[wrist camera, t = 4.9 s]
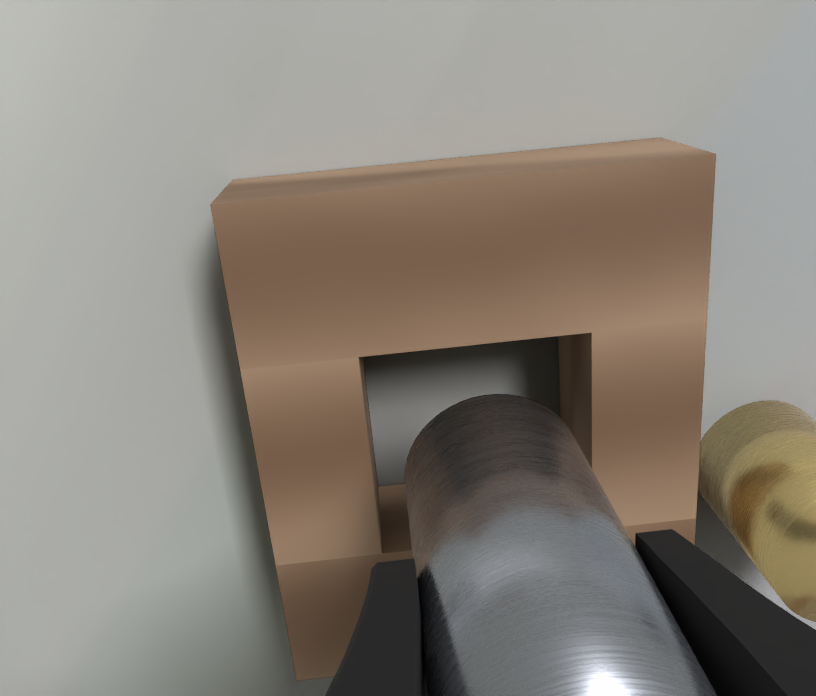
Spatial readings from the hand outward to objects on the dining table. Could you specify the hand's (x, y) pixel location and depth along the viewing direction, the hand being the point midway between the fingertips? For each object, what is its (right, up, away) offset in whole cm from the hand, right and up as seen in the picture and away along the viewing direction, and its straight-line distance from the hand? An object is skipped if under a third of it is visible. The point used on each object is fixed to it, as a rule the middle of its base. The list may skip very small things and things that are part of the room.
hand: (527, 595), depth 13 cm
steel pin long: (0, +2, +3) cm, 3 cm away
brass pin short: (+8, +1, +9) cm, 12 cm away
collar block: (0, +3, +8) cm, 8 cm away
